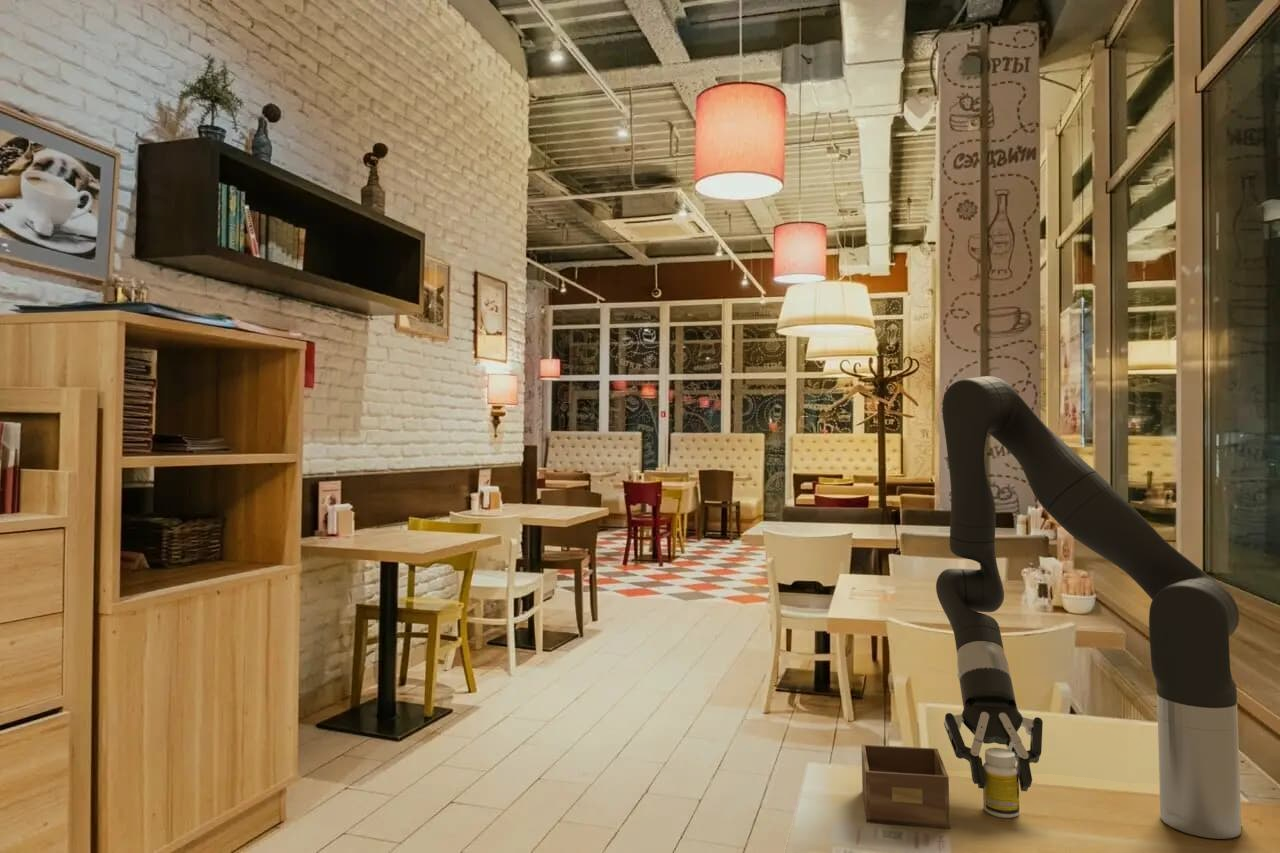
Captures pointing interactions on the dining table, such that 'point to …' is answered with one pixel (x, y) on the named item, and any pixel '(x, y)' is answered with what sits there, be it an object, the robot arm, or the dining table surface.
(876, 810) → the wooden box
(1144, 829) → the dining table surface
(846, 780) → the dining table surface
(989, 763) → the supplement bottle
